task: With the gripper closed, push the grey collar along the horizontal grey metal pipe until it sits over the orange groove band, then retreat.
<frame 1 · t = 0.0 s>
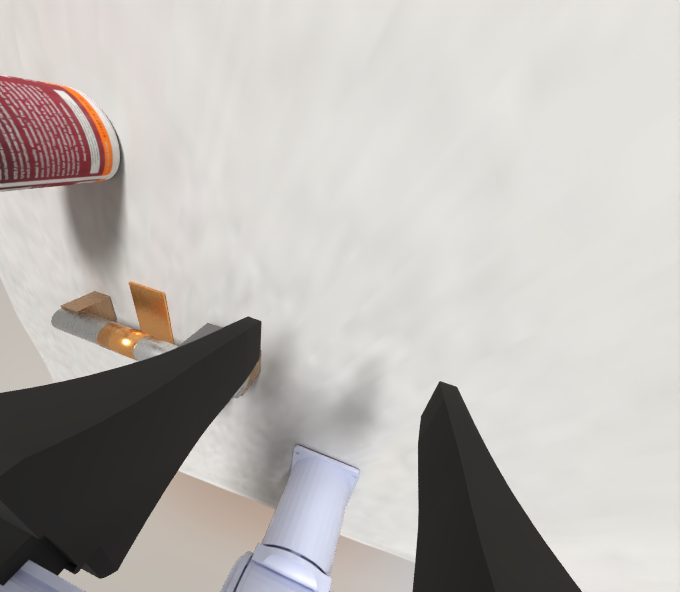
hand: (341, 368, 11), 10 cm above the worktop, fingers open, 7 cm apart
rail: (175, 330, 29), on the worktop
collar: (199, 373, 25), point 4 cm above the worktop, slide at 0.0 cm
pill bottle: (92, 137, 21), on the worktop
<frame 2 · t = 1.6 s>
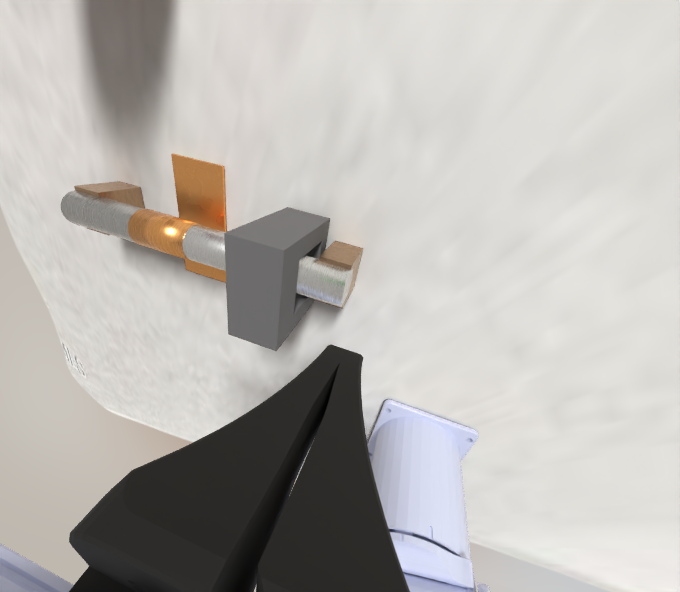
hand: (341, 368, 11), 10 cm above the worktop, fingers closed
rail: (232, 232, 21), on the worktop
collar: (282, 272, 17), point 4 cm above the worktop, slide at 0.0 cm
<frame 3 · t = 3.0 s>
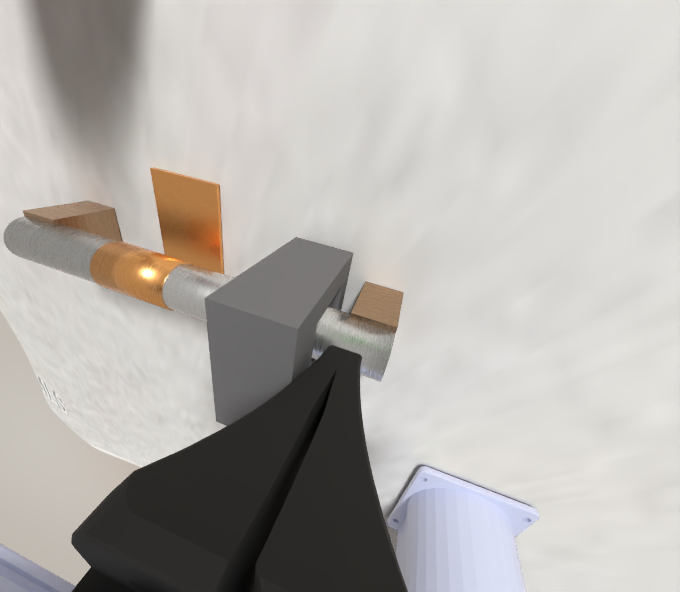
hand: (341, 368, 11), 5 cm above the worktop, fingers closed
rail: (230, 266, 16), on the worktop
collar: (290, 329, 12), point 4 cm above the worktop, slide at 0.4 cm, touching gripper
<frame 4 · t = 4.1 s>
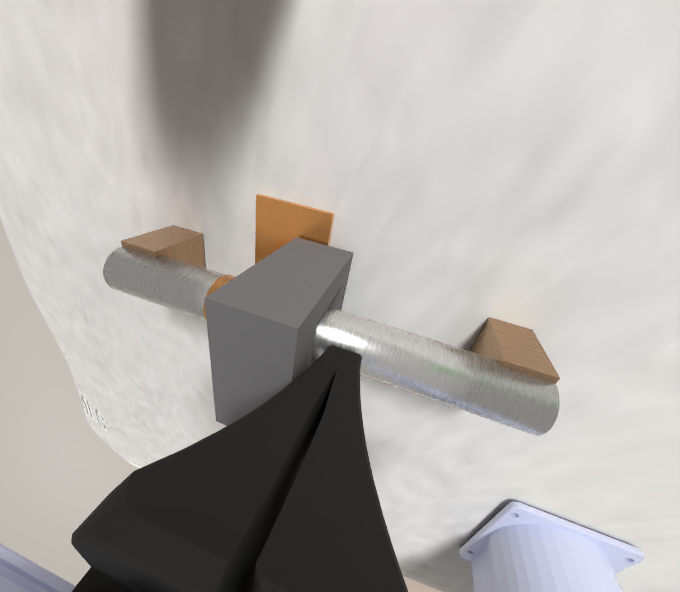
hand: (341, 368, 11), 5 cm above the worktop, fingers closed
rail: (329, 296, 15), on the worktop
collar: (290, 329, 12), point 4 cm above the worktop, slide at 6.6 cm, touching gripper
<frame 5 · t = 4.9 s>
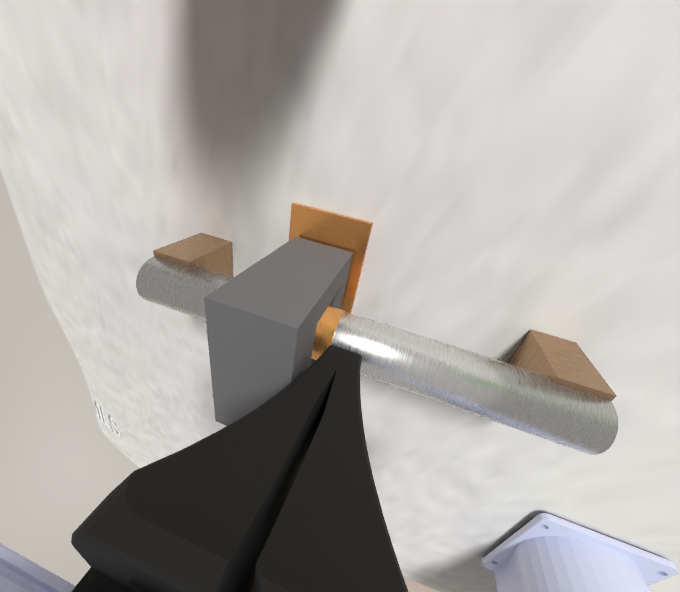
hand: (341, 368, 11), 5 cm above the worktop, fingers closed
rail: (362, 305, 15), on the worktop
collar: (290, 329, 12), point 4 cm above the worktop, slide at 8.5 cm, touching gripper
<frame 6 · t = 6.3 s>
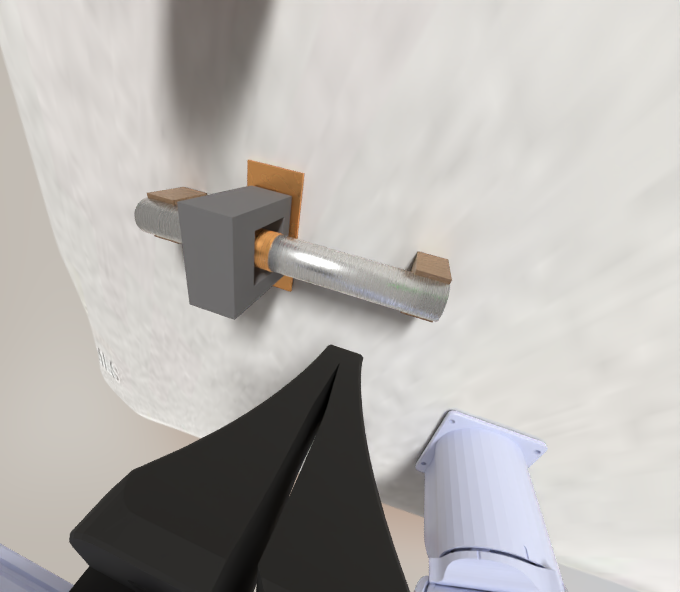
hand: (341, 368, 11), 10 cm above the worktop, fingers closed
rail: (303, 240, 20), on the worktop
collar: (243, 246, 17), point 4 cm above the worktop, slide at 8.5 cm
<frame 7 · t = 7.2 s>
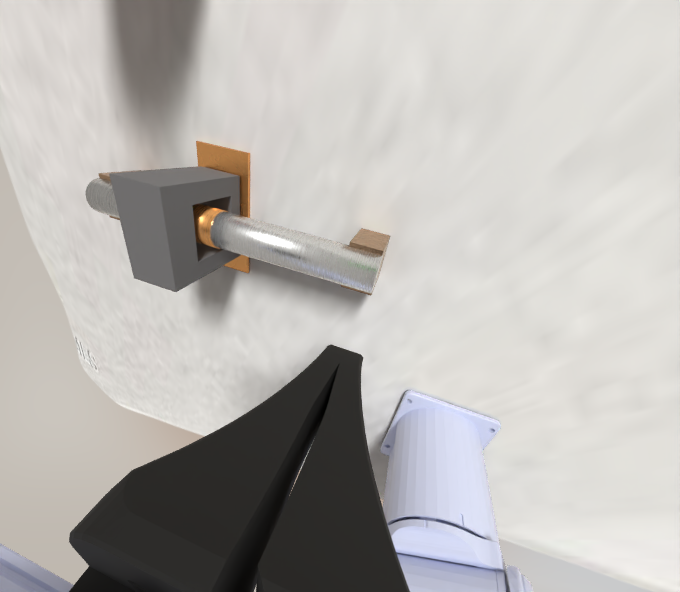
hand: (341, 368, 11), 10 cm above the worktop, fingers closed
rail: (255, 220, 20), on the worktop
collar: (189, 223, 18), point 4 cm above the worktop, slide at 8.5 cm
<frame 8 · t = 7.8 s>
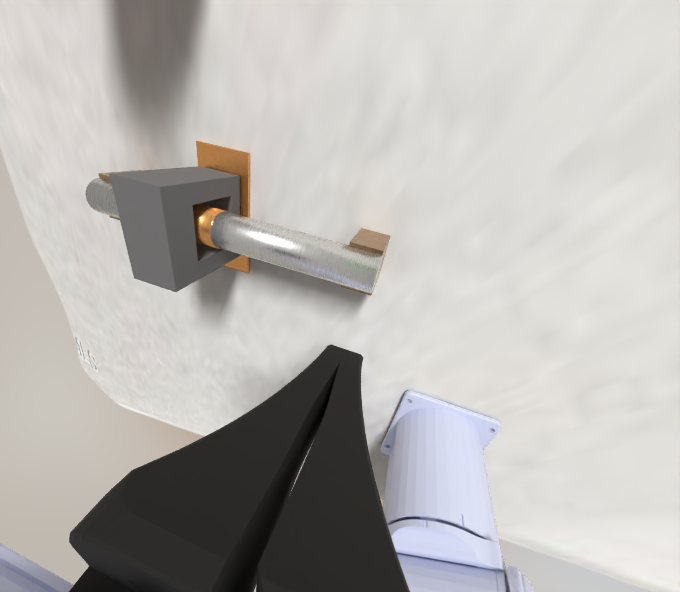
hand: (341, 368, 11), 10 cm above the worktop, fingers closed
rail: (255, 220, 20), on the worktop
collar: (189, 223, 18), point 4 cm above the worktop, slide at 8.5 cm
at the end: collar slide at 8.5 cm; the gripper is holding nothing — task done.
